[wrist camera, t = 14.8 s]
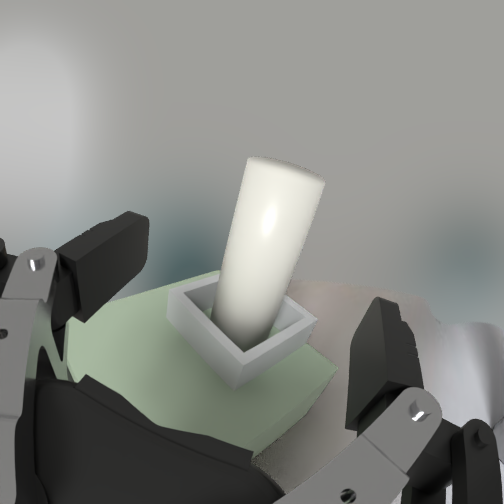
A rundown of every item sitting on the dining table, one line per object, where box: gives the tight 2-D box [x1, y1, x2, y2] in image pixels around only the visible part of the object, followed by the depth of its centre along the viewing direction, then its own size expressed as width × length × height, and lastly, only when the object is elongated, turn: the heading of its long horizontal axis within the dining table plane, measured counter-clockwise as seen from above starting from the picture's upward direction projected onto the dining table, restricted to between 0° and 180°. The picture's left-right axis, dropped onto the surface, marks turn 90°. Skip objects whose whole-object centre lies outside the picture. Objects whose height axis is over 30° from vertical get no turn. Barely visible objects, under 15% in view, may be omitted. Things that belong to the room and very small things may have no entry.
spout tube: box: [210, 157, 326, 352], centre depth 22 cm, size 5×5×14 cm
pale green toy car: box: [67, 270, 338, 459], centre depth 23 cm, size 16×21×11 cm
